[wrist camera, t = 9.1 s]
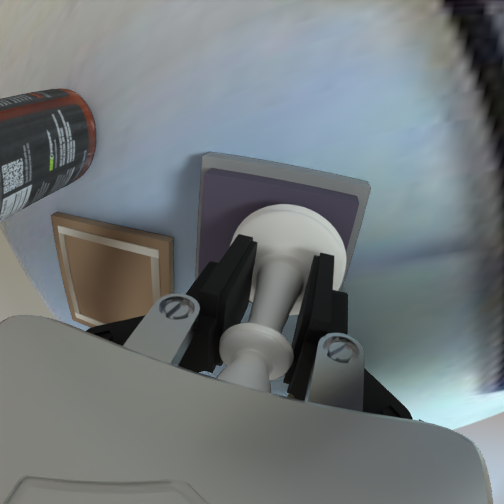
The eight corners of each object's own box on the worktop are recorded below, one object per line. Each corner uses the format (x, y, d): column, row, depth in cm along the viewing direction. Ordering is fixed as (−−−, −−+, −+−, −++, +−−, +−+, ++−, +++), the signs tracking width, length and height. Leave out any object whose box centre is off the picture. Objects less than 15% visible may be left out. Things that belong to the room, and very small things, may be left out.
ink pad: (367, 181, 14) (374, 194, 12) (333, 304, 17) (332, 328, 16) (209, 151, 15) (193, 160, 13) (201, 275, 18) (188, 295, 17)
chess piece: (294, 178, 12) (173, 402, 3) (368, 271, 13) (372, 520, 4) (209, 248, 14) (66, 435, 6) (281, 323, 15) (213, 526, 7)
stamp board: (173, 237, 18) (167, 243, 17) (175, 351, 22) (171, 357, 21) (56, 212, 19) (50, 215, 18) (76, 315, 23) (72, 320, 22)
